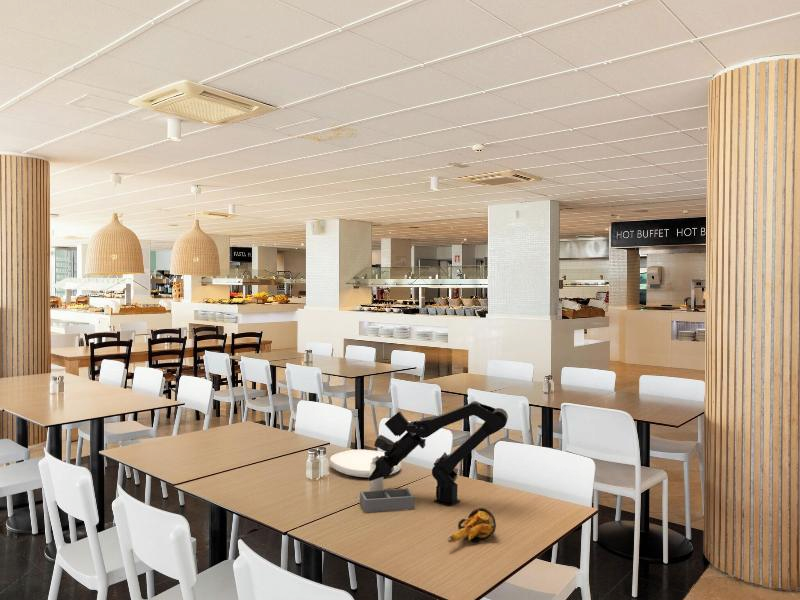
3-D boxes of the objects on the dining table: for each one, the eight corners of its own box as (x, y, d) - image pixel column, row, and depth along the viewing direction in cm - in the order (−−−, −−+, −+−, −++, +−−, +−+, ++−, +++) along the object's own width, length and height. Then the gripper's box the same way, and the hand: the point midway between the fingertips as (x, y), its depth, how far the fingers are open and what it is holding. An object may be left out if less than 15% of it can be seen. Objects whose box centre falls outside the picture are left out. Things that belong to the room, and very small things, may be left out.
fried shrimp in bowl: (508, 520, 176) (484, 519, 162) (489, 553, 176) (463, 555, 161) (483, 501, 181) (458, 498, 167) (465, 534, 181) (437, 533, 167)
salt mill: (385, 494, 210) (386, 456, 210) (377, 498, 207) (377, 458, 206) (376, 491, 213) (376, 453, 213) (367, 495, 210) (367, 456, 209)
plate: (413, 455, 244) (380, 473, 221) (411, 471, 245) (378, 490, 221) (354, 439, 257) (317, 454, 234) (352, 454, 258) (315, 470, 234)
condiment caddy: (407, 500, 205) (407, 488, 205) (414, 509, 197) (414, 496, 197) (359, 503, 201) (360, 491, 201) (364, 512, 193) (364, 500, 193)
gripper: (394, 422, 218) (364, 451, 220) (382, 434, 200) (349, 465, 202) (416, 446, 216) (385, 474, 219) (404, 460, 198) (371, 491, 200)
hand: (372, 475), depth 210 cm, fingers open, 9 cm apart
